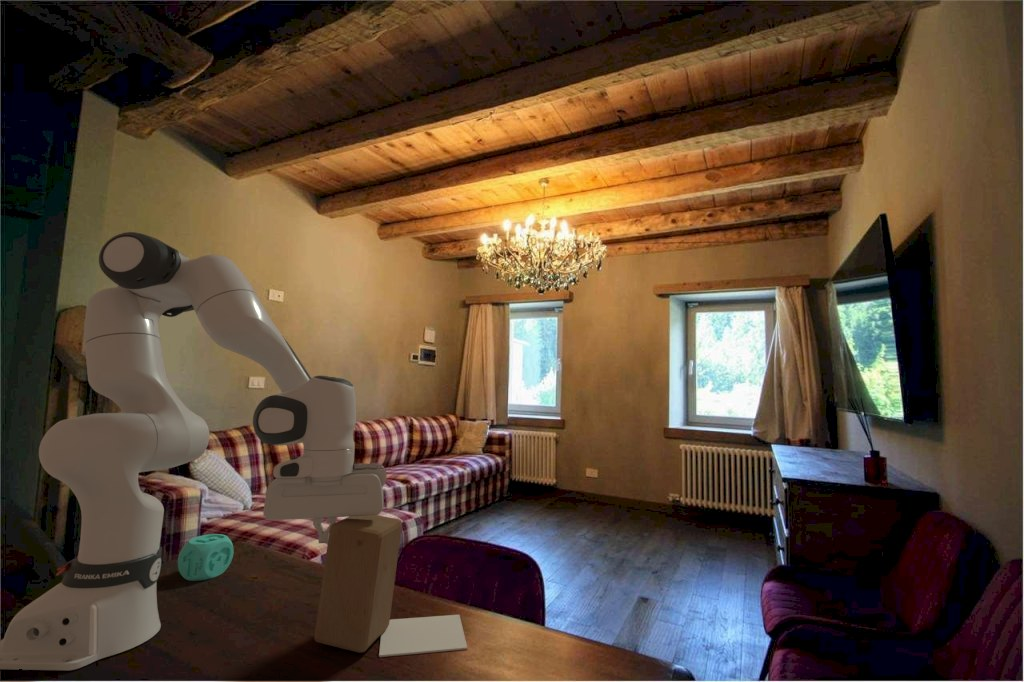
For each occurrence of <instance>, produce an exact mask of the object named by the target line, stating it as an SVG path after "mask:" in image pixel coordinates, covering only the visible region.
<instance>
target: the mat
mask: <svg viewBox="0 0 1024 682" xmlns="http://www.w3.org/2000/svg"><path fill="white" fill-rule="evenodd" d="M462 624H463V623H462V620H461V615H460V614H450V615H449V614H448V615H434V616H423V617H422V616H421V617H408V618H392V619H390V621H389V625H388V627H387V629H386V630H385V631H384V632H383V633H382V634H381V635H380V642H379V643H380V644H379V653H378V657H379V658H385V657H394V656H395V657H397V656H406V655H407V656H409V655H418V654H420V655H421V654H429V653H430V654H431V653H441V652H450V651H452V652H453V651H461V650H463V651H464V650H468V643H467V641H466V636H465V633H464V628H463V625H462Z"/></svg>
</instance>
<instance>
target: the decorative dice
mask: <svg viewBox="0 0 1024 682" xmlns="http://www.w3.org/2000/svg"><path fill="white" fill-rule="evenodd" d="M234 552H235V551H234V544H233V542H232V540H231V539H230V538H229V537H228V536H227V535H226V534H221V533H212V534H211V533H209V534H203V535H199V536H195V537H192V538H191V539H189V540H188V541H187V542H186V543H185V544H184V545H183V547H182V548H181V550H180V551H179V553H178V557H177V568H178V572H179V573H180V576H182V577H183V579H185V580H187V581H191V582H192V581H193V582H198V581H206V580H211V579H214V578H216V577H219V576H221V575H222V574H224V572H225V571H226V570H227V569H228V568H229V567H230V564H231V563H232V560H233V557H234Z"/></svg>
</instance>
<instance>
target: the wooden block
mask: <svg viewBox="0 0 1024 682" xmlns="http://www.w3.org/2000/svg"><path fill="white" fill-rule="evenodd" d="M402 527H403V523H402V520H400V519H399V518H393V517H389V516H383V515H369V516H348V517H345V518H343V519H340V520H339V521H336V523H334V524H332V526H331V528H330V532H329V539H328V543H327V546H326V553H325V554H326V555H325V560H324V561H325V562H324V567H323V575H322V582H321V589H320V595H319V601H318V607H317V615H316V621H315V628H314V629H315V630H314V636H313V638H314V641H315V642H316V643H319V644H323V645H326V646H332V647H335V648H339V649H342V650H346V651H352V652H356V653H365V652H366V651H367V650H368V649H369V648H370V647H371V646H372V644H374V642H376V640H377V639H378V638H379V637H381V634H382V633H383V632H384V631H385V630H386V629H387V627H388V625H389V621H390V620H391V619H390V618H391V613H392V606H393V605H392V604H393V603H392V602H393V597H394V589H395V581H396V575H397V574H396V573H397V565H398V558H399V552H400V551H399V550H400V542H401V537H402V536H401V534H402Z"/></svg>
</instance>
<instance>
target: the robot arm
mask: <svg viewBox="0 0 1024 682" xmlns="http://www.w3.org/2000/svg"><path fill="white" fill-rule="evenodd" d="M98 263H99V264H98V265H99V267H100V270H101V271H102V273H103V274H104V275H105V276H106V277H107V278H109V280H110V281H112V282H113V283H114V284H116V285H117V286H115V287H107V288H104V289H101V290H98V291H96V292H95V293H93V294H92V295H91V296H90V298H89V299H88V302H87V305H86V309H85V317H84V330H83V331H84V334H83V336H84V350H85V351H84V352H85V361H86V363H85V364H86V374H87V381H88V384H89V386H90V388H92V390H93V391H94V392H95V393H97V394H99V395H101V396H103V397H105V398H108V399H109V400H111V401H113V403H114V404H115V405H117V406H118V408H119V409H120V410H121V412H109V413H108V412H103V413H98V412H97V413H91V414H85V415H80V416H76V417H70V418H67V419H62V420H59V421H58V422H56V423H55V424H54V425H53V426H51V427H50V428H49V429H48V430H47V432H45V434H44V435H43V437H42V439H41V442H40V444H39V447H38V458H39V463H40V464H41V466H42V468H43V469H44V471H45V472H46V474H48V475H50V476H51V477H52V478H55V479H56V480H57V481H61V482H62V483H63V484H65V486H67V487H68V488H69V489H70V490H71V492H72V493H73V494H74V496H75V497H76V500H77V501H78V504H79V505H78V506H79V508H80V511H81V512H80V514H81V524H80V539H79V540H80V541H79V546H78V547H79V548H78V555H77V556H76V557H75V558H73V559H71V560H70V561H68V562H66V563H65V564H64V565H63V566H61V567H59V568H57V569H56V571H58V572H57V573H56V575H55V576H60V575H62V574H64V575H63V578H62V580H61V582H59V583H58V584H56V585H55V586H54V587H52V588H50V589H49V590H47V591H46V592H45V593H43V594H42V595H40V596H39V597H37V598H36V599H34V600H32V601H31V602H30V603H29V604H27V605H26V606H24V607H23V608H21V609H20V610H19V611H18V612H17V613H16V614H15V615H14V617H13V618H12V619H11V621H10V622H9V624H8V626H7V629H6V632H5V634H4V637H3V638H2V639H1V640H0V670H19V669H22V670H21V671H30V670H32V671H74V670H78V669H81V668H83V667H86V666H88V665H90V664H92V663H94V662H96V661H99V660H101V659H104V658H107V657H108V658H109V657H111V656H114V655H117V654H120V653H123V652H126V651H129V650H131V649H134V648H135V647H138V646H140V645H142V644H144V643H145V642H147V641H149V640H150V639H152V638H153V637H154V636H155V635H157V633H158V632H159V631H160V630H161V626H162V623H161V620H160V615H159V610H158V599H157V598H158V596H157V595H158V594H157V592H158V591H157V586H158V585H157V582H158V580H159V576H160V573H161V568H162V567H161V566H162V552H163V547H162V546H161V538H162V529H163V522H164V513H165V508H164V505H163V503H162V502H161V501H160V499H158V498H157V497H155V496H154V495H151V494H149V493H146V492H144V491H142V490H141V488H140V483H139V473H145V472H151V471H160V470H166V469H172V468H175V467H179V466H181V465H185V464H188V463H189V462H192V461H195V460H197V459H199V458H200V457H201V456H202V455H203V454H204V453H205V451H206V449H207V448H208V445H209V442H210V437H211V436H210V429H209V426H208V424H207V422H206V420H205V419H204V418H203V417H201V416H200V415H199V414H196V413H195V412H193V411H192V410H190V408H188V407H187V405H185V404H184V403H183V401H182V400H181V399H180V398H179V397H178V394H176V392H175V390H174V389H173V387H172V385H171V383H170V380H169V379H168V376H167V373H166V372H167V371H166V368H165V367H166V366H165V362H164V356H163V349H162V341H161V334H160V327H159V326H160V325H159V321H160V319H161V316H164V317H168V318H173V317H174V318H175V317H177V316H179V315H181V314H182V313H186V312H191V311H194V312H195V314H196V317H197V318H198V321H199V322H200V324H201V326H202V328H203V330H204V331H205V333H206V334H207V335H208V336H209V338H211V339H212V340H213V342H214V343H215V344H216V345H218V346H219V347H222V348H224V349H225V350H228V351H231V352H233V353H236V354H238V355H241V356H243V357H245V358H247V359H249V360H251V361H253V362H256V364H259V365H260V366H261V367H262V368H264V369H265V370H266V371H267V372H268V374H270V377H272V379H273V381H274V383H275V384H276V385H277V387H278V388H279V390H280V392H278V393H276V394H274V395H269V396H267V397H265V398H264V399H262V400H261V401H260V402H259V403H258V405H256V408H255V409H254V412H253V416H252V428H253V431H254V434H255V436H256V437H257V438H258V440H260V441H261V442H262V443H264V444H266V445H269V446H270V445H271V446H277V447H279V446H288V445H296V444H302V445H303V450H302V455H300V456H294V457H292V458H291V459H287V460H285V461H283V462H280V463H278V464H276V465H275V466H274V467H273V471H272V474H273V477H274V479H273V480H272V481H271V482H270V483H269V485H268V486H267V489H266V493H265V497H264V503H263V516H264V517H265V519H266V520H267V521H283V520H285V521H286V520H301V519H302V520H303V519H305V520H306V519H312V525H313V527H314V529H315V531H316V532H317V534H318V544H328V539H329V532H330V528H331V526H332V524H334V523H336V522H338V521H337V520H338V518H343V517H345V518H347V517H349V516H369V515H378V516H380V514H381V512H383V511H384V488H383V487H384V486H385V485H386V482H387V469H386V468H385V467H384V466H383V465H381V464H379V463H378V462H372V463H365V462H364V463H363V462H359V463H358V462H355V446H356V444H355V441H354V432H355V428H356V424H357V396H356V390H355V386H354V385H353V384H354V383H352V382H351V381H349V380H347V379H346V378H340V377H336V376H329V375H328V376H327V375H316V376H312V377H311V375H310V374H309V372H308V370H307V369H306V367H305V365H304V364H303V363H302V361H301V360H300V359H299V357H298V355H297V354H296V352H295V351H294V349H293V348H292V347H291V344H289V343H288V341H287V339H286V338H285V336H284V335H282V333H281V331H280V330H279V329H278V327H277V326H276V325H275V323H274V322H273V319H271V317H270V315H269V313H268V311H267V310H266V309H265V307H264V305H263V304H262V301H261V300H260V298H259V296H258V294H257V293H256V291H255V289H254V288H253V285H252V284H251V283H250V281H249V280H248V278H247V277H246V276H245V274H244V273H243V272H242V270H241V269H240V268H239V266H238V265H237V264H236V263H235V262H234V261H233V260H232V259H231V258H228V257H227V256H223V255H220V254H205V255H202V256H199V257H197V258H192V259H191V258H190V257H188V256H187V255H185V254H183V253H182V252H180V251H178V250H177V249H176V248H174V247H172V246H170V245H168V244H166V243H165V242H163V241H162V240H160V239H157V238H155V237H153V236H150V235H147V234H145V233H142V232H141V233H140V232H133V231H130V232H129V231H127V232H122V233H118V234H116V235H115V236H112V237H111V238H110V239H108V240H107V241H106V242H105V243H104V245H103V246H102V247H101V249H100V251H99V255H98ZM325 518H326V523H327V524H329V525H328V527H327V529H326V530H325V527H324V526H323V525H322V524H323V522H324V519H325ZM19 671H20V670H19Z"/></svg>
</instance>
